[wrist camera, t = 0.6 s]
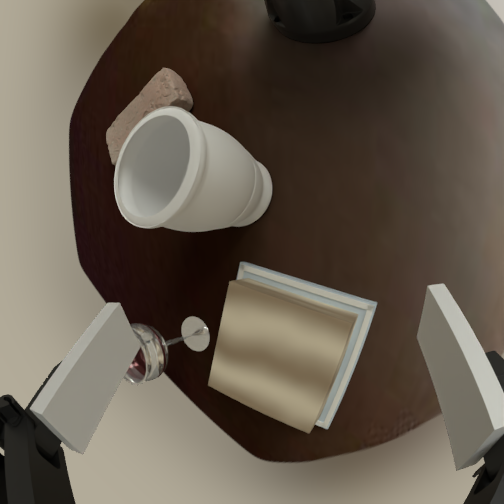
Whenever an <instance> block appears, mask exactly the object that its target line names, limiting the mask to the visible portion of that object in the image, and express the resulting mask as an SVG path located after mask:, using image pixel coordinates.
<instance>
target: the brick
mask: <svg viewBox="0 0 504 504" xmlns="http://www.w3.org/2000/svg"><path fill="white" fill-rule="evenodd" d="M166 106H176V107H180V108H182V109H184V110H186V111H187V112H189V111H190V110H191V108H192V106H193V101H192V97H191V94H190V92H189V91H188V89H187V86H186V84H185V83H184V82H183V79H182V78H181V77H180V76H179V75H177V74H176V73H175V72H174V71H173V70H171V69H168V68H163V69H162V70H161V71H159V72H158V73H157V74H156V75H155V76H154V77H153V78H152V79H151V80H150V81H149V83H148V84H147V85H146V86H145V87H144V89H143V90H142V91H141V92H140V94H139V96H137V97H136V98H135V99H134V100H133V101H132V102H131V103H130V104H129V105H128V106H127V108H125V109H124V111H123V112H122V113H121V114H120V115H119V116H118V117H117V118H116V120H115V121H114V122H113V124H112V125H111V127H110V128H108V130H107V133H106V137H107V138H106V140H107V144H108V149H109V151H110V157H111V160H112V163H113V164H114V165H116V164H117V160H118V157H119V154H120V151H121V149H122V146H123V144H124V142H125V140H126V138H127V137H128V135H129V134H130V132H131V131H132V129H133V128H134V127H135V126H136V125H137V123H138V122H139V121H140V120H141V119H143V118H144V117H145V116H146V115H148V114H149V113H151V112H152V111H154V110H156V109H159V108H162V107H166Z"/></svg>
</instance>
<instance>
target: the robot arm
mask: <svg viewBox="0 0 504 504" xmlns="http://www.w3.org/2000/svg"><path fill="white" fill-rule="evenodd" d="M264 1H265V5H266V9H267V13H268V16H269V18H270V20H271V21H272V23H273V24H274V25H275V26H276V28H277V29H278V30H279V31H280V32H281V33H282V34H283V35H285V36H286V37H288V38H290V39H293V40H296V41H300V42H307V43H324V42H331V41H336V40H340V39H343V38H346V37H348V36H351V35H353V34H355V33H356V32H358V31H360V30H361V29H362V28H364V27H365V26H366V25H367V24H368V23H369V22H370V20H371V19H372V17H373V15H374V13H375V0H264ZM417 339H418V342H419V345H420V347H421V350H422V353H423V355H424V358H425V361H426V364H427V367H428V369H429V372H430V375H431V378H432V381H433V384H434V387H435V391H436V394H437V397H438V400H439V404H440V407H441V410H442V414H443V417H444V421H445V425H446V428H447V432H448V436H449V440H450V444H451V448H452V453H453V457H454V462H455V466H456V471H457V470H460V469H463V468H466V467H469V466H472V465H474V464H476V463H477V462H478V461H479V460H480V459H481V458H482V457H484V461H485V464H484V465H483V466H482V467H480V468H479V469H478V470H477V471H476V472H475V473H474V475H473V477H476V476H477V475H478V474H479V476H478V477H477V479H476V481H475V483H474V485H473V487H472V489H471V491H470V493H469V495H468V497H467V498H466V500H465V502H464V504H504V359H503V358H502V357H501V356H500V355H499V354H498V353H496V352H495V351H491V352H488V353H484V351H483V349H482V347H481V345H480V343H479V341H478V340H477V338H476V336H475V334H474V332H473V331H472V329H471V327H470V325H469V324H468V322H467V320H466V318H465V317H464V315H463V313H462V312H461V310H460V308H459V307H458V305H457V303H456V302H455V300H454V299H453V297H452V296H451V294H450V292H449V291H448V289H447V288H446V286H445V285H444V284H437V285H429V286H427V291H426V297H425V302H424V307H423V312H422V317H421V321H420V325H419V330H418V334H417ZM140 347H141V346H140V344H139V342H138V340H137V338H136V336H135V334H134V332H133V330H132V328H131V326H130V324H129V322H128V320H127V318H126V315H125V313H124V311H123V309H122V307H121V304H120V303H107V304H106V305H105V307H104V308H103V309H102V310H101V312H100V313H99V314H98V315H97V316H96V318H95V319H94V320H93V322H92V323H91V324H90V325H89V327H88V328H87V329H86V331H85V332H84V333H83V334H82V336H81V337H80V338H79V340H78V341H77V342H76V344H75V345H74V346H73V348H72V349H71V350H70V352H69V353H68V354H67V356H66V357H65V358H64V360H63V361H61V362H60V363H59V364H58V365H57V366H55V367H54V368H53V370H52V371H51V373H50V374H49V376H48V378H46V380H45V381H44V382H43V385H41V387H40V388H39V390H38V391H37V393H36V394H35V395H34V397H33V398H32V400H31V401H30V403H29V405H28V406H27V407H26V409H25V410H24V409H23V408H22V407H21V406H20V405H19V404H18V403H17V401H16V400H15V399H14V398H13V397H12V396H11V395H3V396H2V397H0V447H1V448H2V449H3V450H4V455H5V456H3V455H2V454H1V453H0V504H75V501H74V497H73V493H72V489H71V485H70V480H69V476H68V471H67V466H66V461H65V456H64V451H63V449H62V447H61V446H60V444H61V442H63V443H64V444H65V445H66V446H67V447H68V448H70V449H71V450H74V451H76V452H78V453H81V454H84V452H85V449H86V448H87V446H88V443H89V442H90V440H91V438H92V436H93V434H94V432H95V430H96V428H97V426H98V424H99V422H100V420H101V418H102V416H103V414H104V412H105V410H106V409H107V407H108V405H109V403H110V401H111V399H112V397H113V396H114V394H115V392H116V390H117V388H118V386H119V384H120V383H121V381H122V379H123V377H124V375H125V374H126V372H127V370H128V368H129V366H130V365H131V363H132V361H133V359H134V358H135V356H136V354H137V352H138V350H139V349H140Z"/></svg>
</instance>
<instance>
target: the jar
mask: <svg viewBox="0 0 504 504" xmlns="http://www.w3.org/2000/svg"><path fill="white" fill-rule="evenodd" d="M114 191H115V197H116V202H117V205H118V207H119V210H120V212H121V213H122V215H123V216H124V218H125V219H126V220H127V221H128V222H130V223H131V224H133V225H135V226H138V227H142V228H157V227H161V226H162V227H166V228H169V229H173V230H178V231H185V232H203V231H210V230H214V229H222V228H227V227H230V226H235V227H241V226H246V225H249V224H251V223H253V222H255V221H256V220H257V219H259V218H260V217H261V216H262V215H263V213H264V212H265V211H266V209H267V207H268V205H269V203H270V200H271V197H272V180H271V177H270V174H269V172H268V171H267V169H266V168H265V167H264V166H263V165H262V164H261V163H260V162H258V161H256V160H255V159H254V158H253V156H252V155H251V154H250V153H249V152H248V151H247V150H246V149H245V148H244V147H243V146H242V145H241V144H240V143H239V142H238V141H237V140H236V139H235V138H233V137H232V136H231V135H229V134H228V133H226V132H225V131H223V130H221V129H219V128H217V127H215V126H213V125H210V124H207V123H204V122H201V121H198V120H197V119H196V118H195V117H194V116H193V115H192V114H191V113H189V112H187V111H186V110H184V109H182V108H180V107H176V106H166V107H162V108H159V109H156V110H154V111H152V112H151V113H149V114H148V115H146V116H145V117H144V118H143V119H141V120H140V121H139V122H138V123H137V125H136V126H135V127H134V128H133V129H132V131H131V132H130V134H129V135H128V137H127V138H126V140H125V142H124V144H123V146H122V149H121V151H120V154H119V157H118V160H117V164H116V169H115V176H114Z"/></svg>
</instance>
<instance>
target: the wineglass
mask: <svg viewBox="0 0 504 504" xmlns="http://www.w3.org/2000/svg"><path fill="white" fill-rule="evenodd" d="M130 326H131V328H132V330H133V332H134V334H135V336H136V338H137V340H138V342H139V344H140V346H141V347H140V349H139V350H138V352H137V354H136V356H135V358H134V359H133V361H132V363H131V365H130V366H129V368H128V370H127V372H126V374H125V375H124V377H123V378H124V379H125V380H126V381H128V382H129V383H131V384H134V385H139V384H142V383H143V382H144V381H149V380H153V379H155V378H157V377H159V376H160V375H161V374H162V373H163V371H164V370H165V369H166V367H167V364H168V346H171V345H173V344H176V343H178V342H180V341H183V340H184V342H185V343H186V344H187V346H188V347H189V348H191V349H192V350H195V351H202V350H205V349H206V347H207V346H208V344H209V339H210V335H209V330H208V328H207V326H206V325H205V323H204V322H203V321H202V320H201V319H199V318H197V317H194V316H193V317H188V318H187V319H185V321H184V322H183V324H182V331H181V332H182V337H179V338H175V339H171V340H168V341H165V339H164V338H163V337H162V335H161V334H160V333H159V332H158V331H157V330H156V329H155V328H153V327H152V326H149V325H147V324H143V323H135V324H130Z"/></svg>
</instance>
